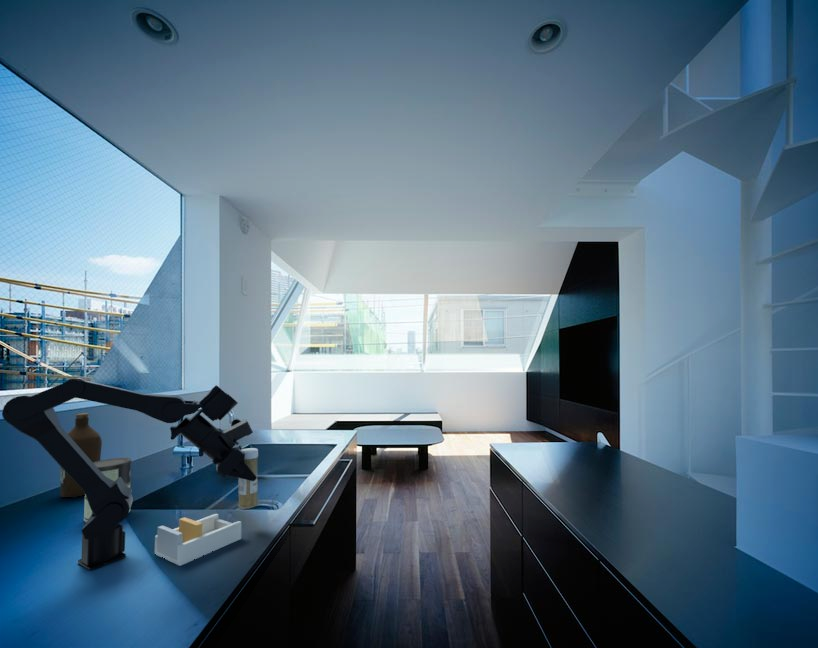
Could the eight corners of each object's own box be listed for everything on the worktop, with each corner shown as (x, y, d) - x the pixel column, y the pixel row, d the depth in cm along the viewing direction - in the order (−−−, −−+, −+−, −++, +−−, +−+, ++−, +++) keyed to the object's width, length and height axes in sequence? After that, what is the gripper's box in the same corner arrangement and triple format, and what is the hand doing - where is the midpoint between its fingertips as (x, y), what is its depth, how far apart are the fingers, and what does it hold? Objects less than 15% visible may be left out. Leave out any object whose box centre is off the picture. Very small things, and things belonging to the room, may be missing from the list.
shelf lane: (179, 565, 83) (180, 536, 83) (154, 554, 88) (155, 526, 88) (241, 538, 94) (241, 512, 95) (215, 529, 100) (215, 505, 100)
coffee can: (119, 506, 118) (121, 456, 119) (137, 512, 113) (138, 460, 114) (76, 518, 110) (78, 464, 111) (92, 526, 104) (94, 469, 105)
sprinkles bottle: (259, 506, 99) (260, 449, 100) (239, 511, 97) (240, 452, 98) (255, 501, 103) (255, 446, 104) (236, 505, 100) (236, 449, 101)
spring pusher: (196, 549, 87) (196, 525, 87) (178, 542, 91) (179, 519, 91) (202, 547, 88) (202, 523, 88) (184, 540, 92) (184, 517, 92)
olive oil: (101, 485, 138) (103, 410, 140) (99, 493, 130) (102, 413, 132) (59, 492, 132) (62, 413, 134) (55, 501, 124) (58, 417, 125)
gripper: (234, 414, 91) (285, 458, 96) (228, 405, 108) (272, 443, 112) (194, 454, 87) (248, 499, 91) (194, 439, 104) (240, 477, 108)
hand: (254, 477), depth 101 cm, fingers closed on sprinkles bottle, 4 cm apart
